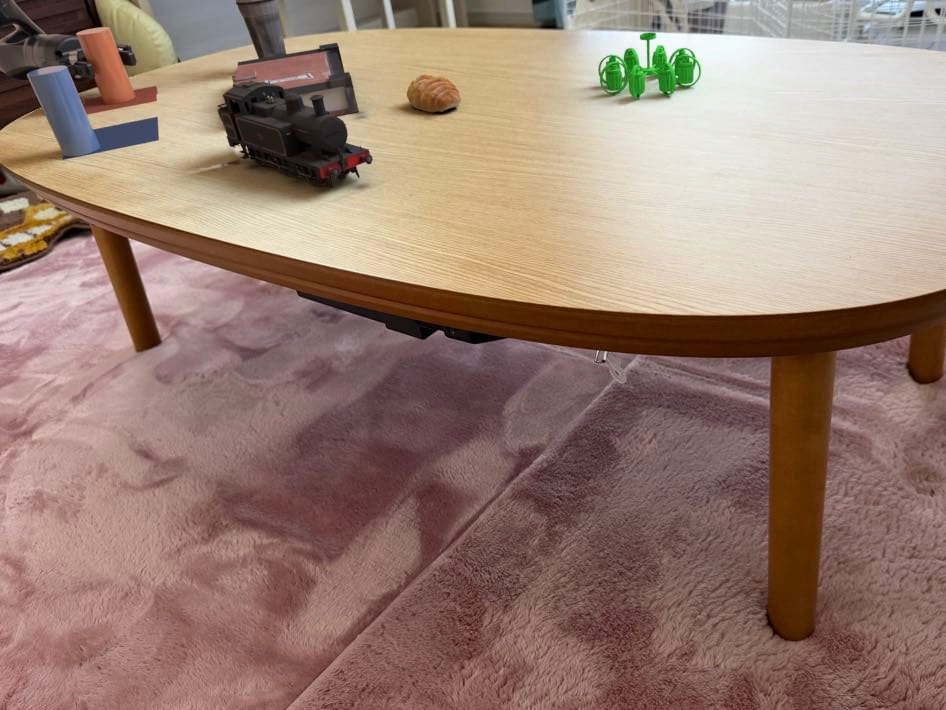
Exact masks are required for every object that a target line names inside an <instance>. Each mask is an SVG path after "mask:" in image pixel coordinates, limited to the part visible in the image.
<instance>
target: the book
mask: <svg viewBox="0 0 946 710" xmlns="http://www.w3.org/2000/svg"><path fill="white" fill-rule="evenodd" d="M342 59H343V58H342V55H341V51H340V46H339V44H338V42H332V43H326V44H319V45H318V48H314V49H309V50H303V51H296V52H291V53H286V54H284V55H278V56H272V57H266V58H260V59H259V58H255V59H249V60H243V61H238V62H237V67H236V73H235V74H234V75H231V80H232V87H234V86H235V85H237V84H239V83H241V82H249V81H254V82H265V83H269V84H273V85H277V86H280V87H283V89H284V93H285V97H287V95H288V94H290V93H296V94H298V95H300V96H301V97H302V100H303V103H304V105H306V106H310V107H313V104H312V101H311V100H309V98H310V97H312V96H313V95H323V96H324V98H323V101H324V105H325V110H326V111H329V114H330V115H333V116H336V117H338V116H344V115H350V114H357V113H359V112H360V111H359V106H358V101H357V97H356V93H355V87H354V83H353V80H352V76H351V73H350V71H345V69H344V64H343V60H342ZM271 93H272V96H273V97H275V93H274V92H271ZM235 102H236V101H235Z"/></svg>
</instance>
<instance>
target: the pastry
mask: <svg viewBox="0 0 946 710" xmlns="http://www.w3.org/2000/svg"><path fill="white" fill-rule="evenodd" d="M406 98H407V100H408V102H409V104H410V105H411V106H413V107H414V108H415V109H417V110H421V111H424V112H427V113H432V114H433V113H436V112H440V113H443V112H444V111H447V110H449V109H451V108H456V107H459V106H460V104H461V102H462V97H461V95H460V91H459V89H458V88H457V86H456V85H455V84H454V83H452V81H451V80H450V79H449V78H445V77H444V76H435V75H432V74H427V73H426V74H420V75H419V76H417V77H416V78H415V79H413V80H411V83H410V84H409V85H408V87H407V91H406Z"/></svg>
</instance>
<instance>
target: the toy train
mask: <svg viewBox="0 0 946 710" xmlns="http://www.w3.org/2000/svg"><path fill="white" fill-rule="evenodd" d="M271 92H274V93H275V97H273V96H272V93H271ZM222 98H223V100H224V103H220V104H217V113H218V116H219V119H220V121H221V123H222V124H223V127H224V130H225V133H226V139H227V142H228V145H229V147H231V148H234V147H236V146H240V147H241V149H242V150H240V151H238V153H241V154H243V155H242V156H241V157H239V158H240V159H242V160H248V159H250V160H251V161H254V163H256V164H257V166H260V167H262V166H265V167H266V166H269V167H271V168H274V169H276V170H280V171H281V172H282V173H283V174H284V175H285V176H287V177H291V178H297V177H298V178H303V179H304V180H307V182H309V183H310V184H311V185H313V186H315V187H316V186H319V187H320V186H324V185H326V184H327V182H326V178H328V181H329V183H330V187H331V189H334V183H333V177H334V178H337V177H338V176H340V175H342V176H347V175H349V174H350V173H351V174H355V175H356V176H357V178H358V179H360V178H361V177H360V174H359V171H358V167H357V166H360V165H362V164H367V165H372V163H373V160H374V159H373V156H372V155H371V152H370V149H369V148H365V147H362V146H361V145H359V146H358V145H355V144H351V143H349V142H347V140H348V136H349V135H348V127H347V123H345V121H344V120H342V119H341V118H340V117H338V116H333V115H330V114H329V111H326V110H325V105H324V101H323V98H324V96H323V95H313V96H312V97H310V98H309V100H311V101H312V104H313V107H310V106H306V105H304V103H303V100H302V97H301V96H300V95H298V94H296V93H290V94H288V95H287V97H285V93H284V89H283V87H280V86H277V85H273V84H269V83H265V82H254V81H249V82H241V83H239V84H237V85H235V86H234V87H233V86H232V87H231V88H229V89H228V90H227V91H225V92H224V93H223V94H222ZM235 101H236V102H235ZM270 159H273V160H274V161H275V162H274V161H271V160H270ZM298 168H299V169H301V170H302V171H300V170H298Z"/></svg>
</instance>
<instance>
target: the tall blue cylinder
mask: <svg viewBox="0 0 946 710" xmlns="http://www.w3.org/2000/svg"><path fill="white" fill-rule="evenodd" d="M27 76H28V78H29V80H28V81H29V83H30V85H31V87H32V89H33V91H34V94H35V96H36V98H37V100H38V102H39V103H38V104H39V105H40V107H41V109H42V111H43V114H44V116H45V118H46V120H47V123H48V124H49V127H50V129H51V131H52V133H53V136H54V138H55V140H56V143H57V145H58V146H59V147H58V148H59V149H60V152H61V153H62V155H63V156H65V157H75V158H78V157H77V156H80V157H83V156H82V155H85V156H87V155H86V154H90V153H92V152H95V151H97V150H98V149H100V144H99V142H98V139H97V137H96V134H95V132H94V130H93V129H94V128H93V125H92V123H91V121H90V118H89V114H87V113H86V111H85V108H84V106H83V105H84V103H83V101H82V99H81V97H80V94H79V92H78V89H77V87H76V85H75V82H73V80H72V78H71V75H70V73H69V70H68V68H67V67H66V66H51V67H46V68H41V69H37V70H34V71H31V72H29V73H28V74H27ZM90 155H91V154H90Z"/></svg>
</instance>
